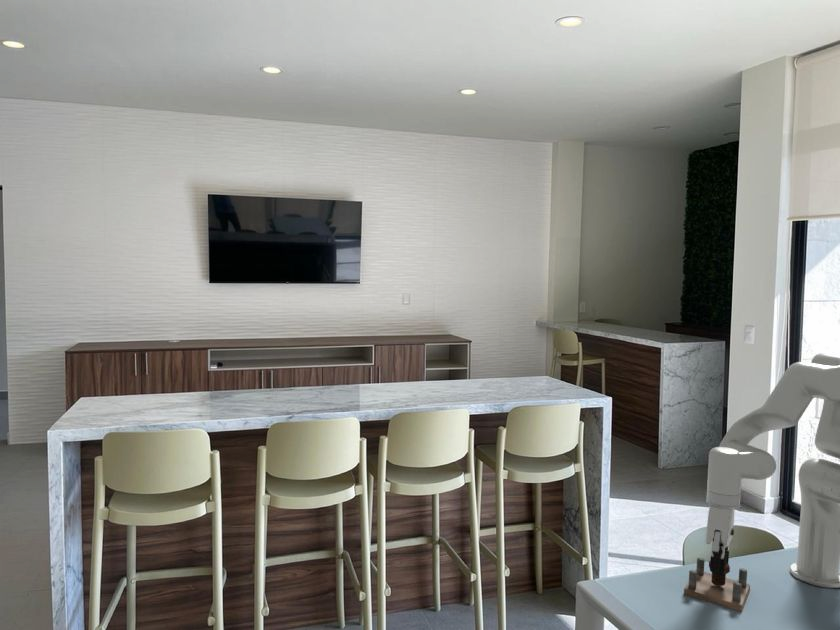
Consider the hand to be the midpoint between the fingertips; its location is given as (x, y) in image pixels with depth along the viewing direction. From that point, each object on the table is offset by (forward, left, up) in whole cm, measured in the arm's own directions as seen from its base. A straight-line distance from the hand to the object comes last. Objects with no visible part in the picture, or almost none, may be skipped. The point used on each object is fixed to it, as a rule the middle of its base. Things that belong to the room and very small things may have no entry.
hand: (719, 568), depth 159 cm
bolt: (0, 0, -4) cm, 4 cm away
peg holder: (0, 0, -6) cm, 6 cm away
